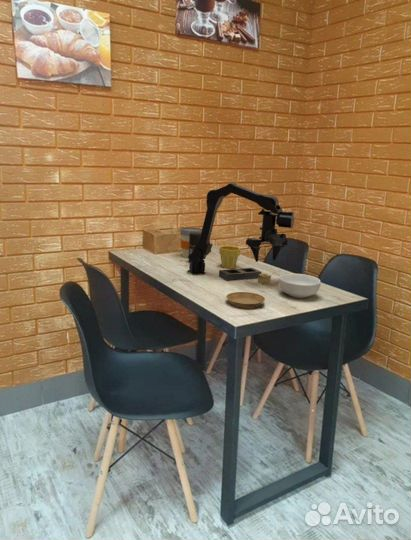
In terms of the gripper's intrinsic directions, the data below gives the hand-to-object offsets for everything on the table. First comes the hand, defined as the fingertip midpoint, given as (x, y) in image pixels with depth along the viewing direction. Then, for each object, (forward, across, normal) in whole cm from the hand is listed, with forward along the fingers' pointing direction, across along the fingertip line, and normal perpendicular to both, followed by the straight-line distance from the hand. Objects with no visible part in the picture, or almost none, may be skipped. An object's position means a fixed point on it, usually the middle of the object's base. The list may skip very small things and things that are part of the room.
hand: (265, 261), depth 200 cm
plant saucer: (+11, -23, -21) cm, 33 cm away
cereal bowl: (+10, +4, -19) cm, 22 cm away
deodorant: (+10, -13, +44) cm, 47 cm away
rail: (+10, -5, +12) cm, 16 cm away
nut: (+10, 0, 0) cm, 10 cm away
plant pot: (+10, 0, +31) cm, 33 cm away
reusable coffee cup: (+10, -9, +56) cm, 58 cm away
